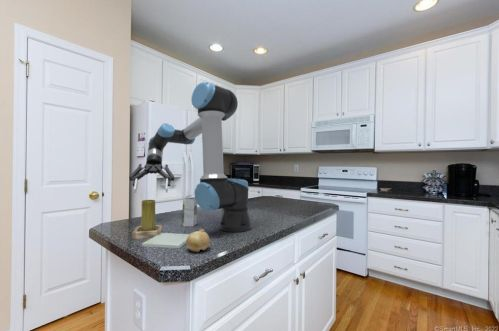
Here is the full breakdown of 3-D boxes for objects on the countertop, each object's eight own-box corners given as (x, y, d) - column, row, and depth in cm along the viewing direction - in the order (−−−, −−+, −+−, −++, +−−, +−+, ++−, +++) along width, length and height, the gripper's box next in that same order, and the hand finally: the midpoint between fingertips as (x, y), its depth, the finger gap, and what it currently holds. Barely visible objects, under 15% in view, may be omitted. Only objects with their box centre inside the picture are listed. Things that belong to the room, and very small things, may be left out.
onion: (208, 254, 78) (208, 232, 78) (184, 254, 78) (184, 232, 78) (210, 246, 86) (211, 226, 86) (188, 246, 86) (188, 226, 86)
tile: (193, 236, 97) (193, 234, 97) (178, 248, 83) (178, 245, 83) (161, 235, 99) (161, 232, 99) (141, 246, 85) (141, 243, 85)
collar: (162, 230, 106) (162, 224, 106) (160, 237, 96) (160, 230, 96) (136, 232, 103) (136, 226, 103) (132, 239, 93) (132, 232, 93)
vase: (137, 236, 96) (137, 201, 97) (144, 232, 103) (145, 199, 103) (151, 236, 96) (152, 201, 96) (158, 232, 102) (158, 199, 102)
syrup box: (185, 223, 119) (185, 194, 119) (197, 224, 118) (197, 195, 119) (181, 226, 113) (182, 196, 113) (194, 226, 113) (194, 196, 113)
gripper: (179, 164, 130) (178, 195, 116) (129, 164, 123) (122, 196, 109) (179, 154, 125) (179, 185, 111) (127, 153, 118) (119, 185, 104)
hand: (151, 190), depth 110 cm, fingers open, 13 cm apart
